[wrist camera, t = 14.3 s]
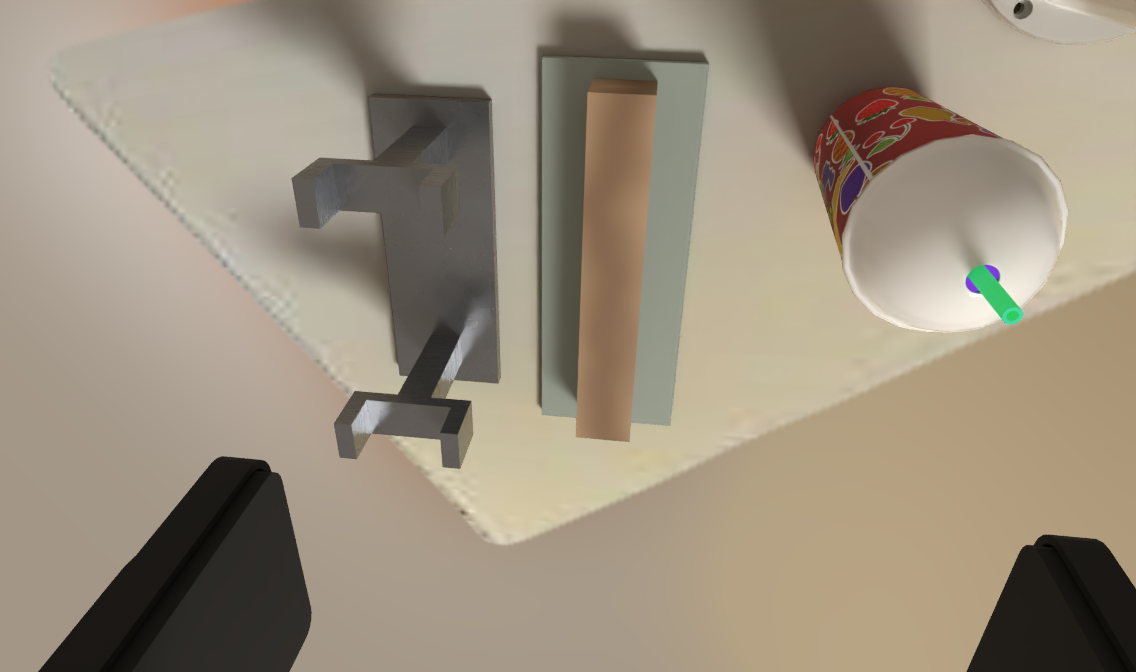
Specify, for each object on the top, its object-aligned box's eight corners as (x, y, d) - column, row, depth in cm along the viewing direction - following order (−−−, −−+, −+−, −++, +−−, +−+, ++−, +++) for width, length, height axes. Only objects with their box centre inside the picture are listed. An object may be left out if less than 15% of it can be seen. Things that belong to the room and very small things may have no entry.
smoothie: (766, 177, 44) (828, 360, 26) (852, 38, 39) (992, 147, 22) (891, 238, 44) (1029, 453, 27) (988, 108, 40) (1222, 265, 23)
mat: (708, 62, 41) (708, 64, 40) (670, 420, 53) (670, 425, 52) (543, 55, 42) (541, 57, 41) (543, 409, 54) (541, 414, 53)
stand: (491, 99, 43) (438, 158, 33) (500, 377, 53) (461, 486, 43) (372, 93, 44) (286, 150, 34) (403, 369, 53) (342, 475, 44)
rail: (657, 81, 41) (656, 95, 38) (631, 410, 52) (629, 441, 49) (593, 78, 41) (587, 92, 38) (581, 406, 52) (575, 437, 49)
